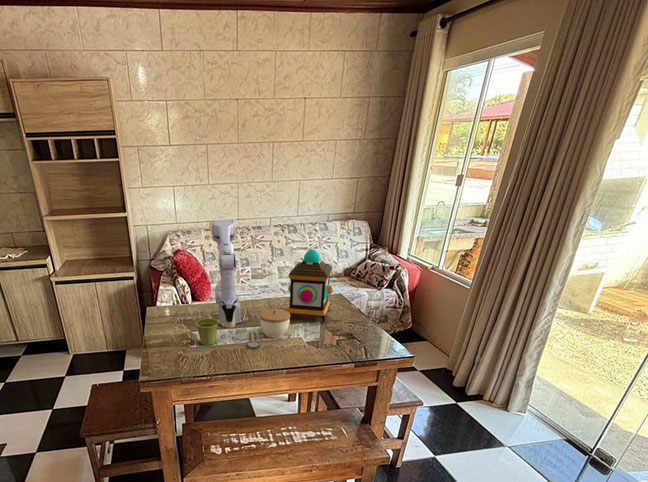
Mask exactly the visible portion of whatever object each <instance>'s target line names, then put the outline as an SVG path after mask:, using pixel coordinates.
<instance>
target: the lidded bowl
mask: <svg viewBox="0 0 648 482" xmlns="http://www.w3.org/2000/svg"><path fill="white" fill-rule="evenodd" d="M290 319H291V315H290V313H289V312H288V311H287V310H286V309H281V308H269V309H264V310H262V311H260V313H259V325H260V329H261V331H262V332H263V333H264V334H265V336H266V337H268V338H270V339H279V338H281V337H283V336H284V334H286V333H287V331H288V330H289V327H290V322H291V320H290Z"/></svg>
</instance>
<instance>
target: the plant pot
mask: <svg viewBox="0 0 648 482" xmlns="http://www.w3.org/2000/svg"><path fill="white" fill-rule="evenodd" d="M218 320H219V319H215V318H211V317H206V318H205V317H204V318H200V319H197V320H196V321H195V322H194V324H195V326H196V328H197V332H198V336H199V341H200V343H201V344H202V345H204V346H210V345H213V344H214V345H215V343H216V341H217V338H216V337H217V331H218V330H217V329H218V326H219V322H218Z"/></svg>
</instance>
